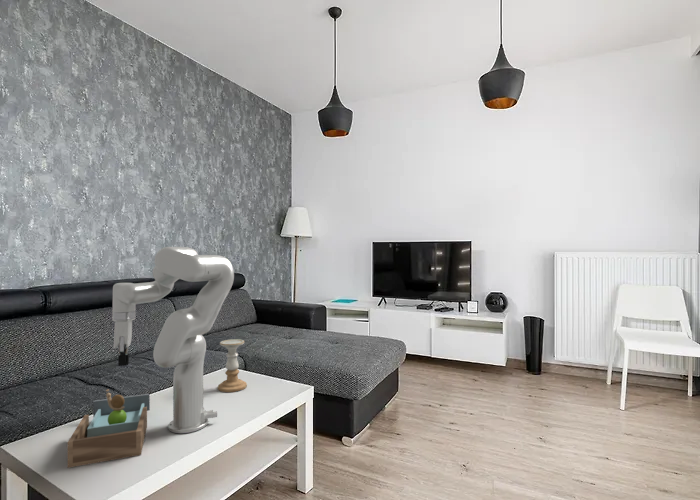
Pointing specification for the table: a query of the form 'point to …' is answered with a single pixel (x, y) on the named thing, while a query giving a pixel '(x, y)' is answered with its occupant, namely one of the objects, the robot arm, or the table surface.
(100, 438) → the box
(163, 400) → the table surface
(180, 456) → the table surface
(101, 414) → the tray
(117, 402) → the snail figurine
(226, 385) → the candle holder
